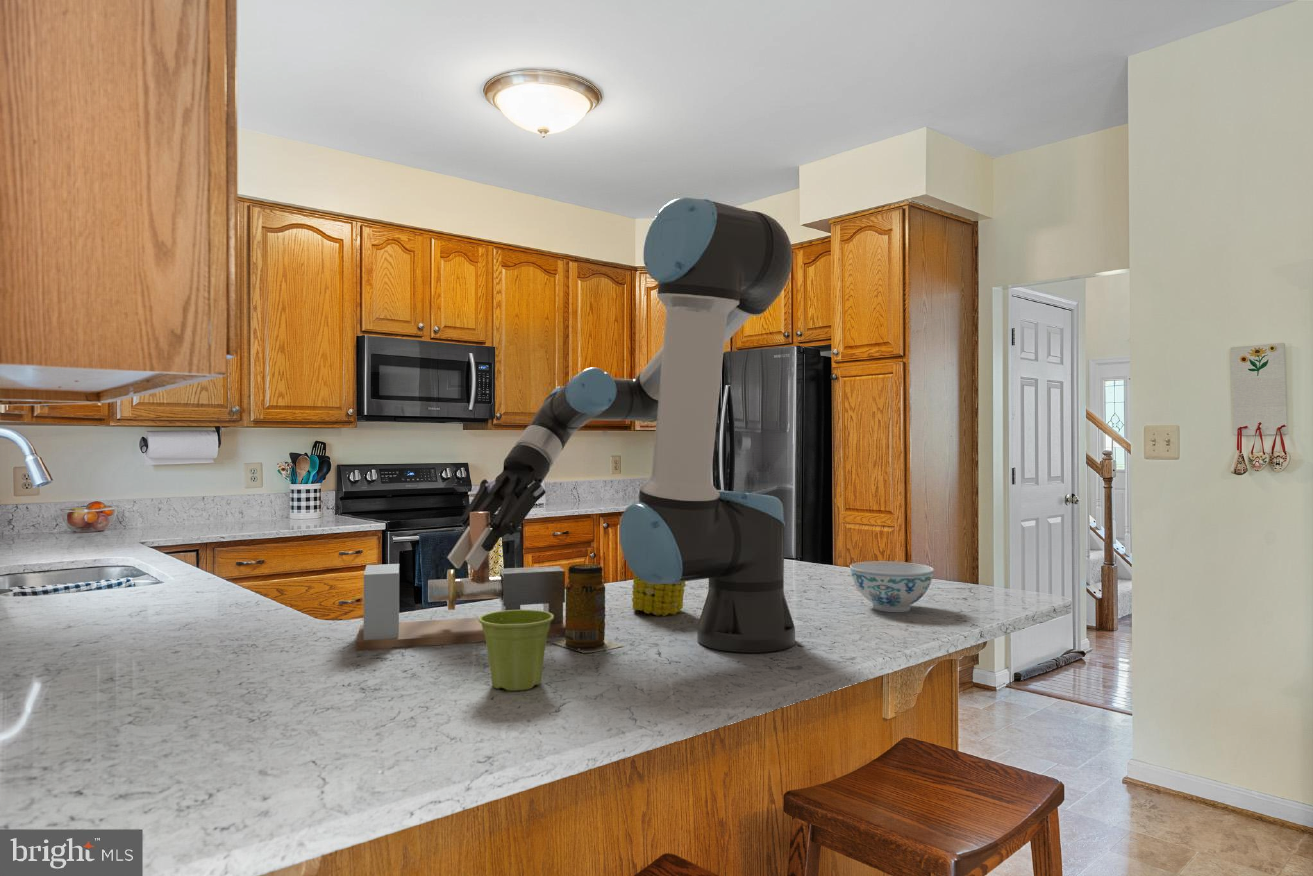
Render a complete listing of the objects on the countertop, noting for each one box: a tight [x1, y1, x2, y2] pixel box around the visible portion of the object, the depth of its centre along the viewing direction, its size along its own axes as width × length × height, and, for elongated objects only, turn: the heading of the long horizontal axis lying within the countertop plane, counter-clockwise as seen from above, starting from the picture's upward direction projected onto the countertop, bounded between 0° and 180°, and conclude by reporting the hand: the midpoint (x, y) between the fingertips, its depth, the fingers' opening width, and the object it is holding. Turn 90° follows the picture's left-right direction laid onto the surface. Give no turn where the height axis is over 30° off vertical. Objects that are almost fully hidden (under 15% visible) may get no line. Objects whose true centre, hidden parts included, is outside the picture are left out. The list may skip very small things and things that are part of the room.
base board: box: [355, 617, 566, 651], centre depth 130 cm, size 32×12×1 cm, turn 107°
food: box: [631, 573, 687, 617], centre depth 147 cm, size 15×12×10 cm
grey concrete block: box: [499, 565, 566, 624], centre depth 133 cm, size 10×5×9 cm, turn 107°
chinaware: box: [849, 560, 935, 613], centre depth 150 cm, size 15×15×8 cm
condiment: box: [552, 563, 623, 654], centre depth 123 cm, size 7×8×12 cm
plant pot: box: [478, 609, 554, 692], centre depth 103 cm, size 9×9×9 cm
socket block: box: [363, 563, 400, 640], centre depth 126 cm, size 5×10×10 cm, turn 17°
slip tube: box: [427, 512, 503, 611], centre depth 132 cm, size 20×6×16 cm, turn 107°
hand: (462, 563), depth 128 cm, fingers closed on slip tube, 3 cm apart
